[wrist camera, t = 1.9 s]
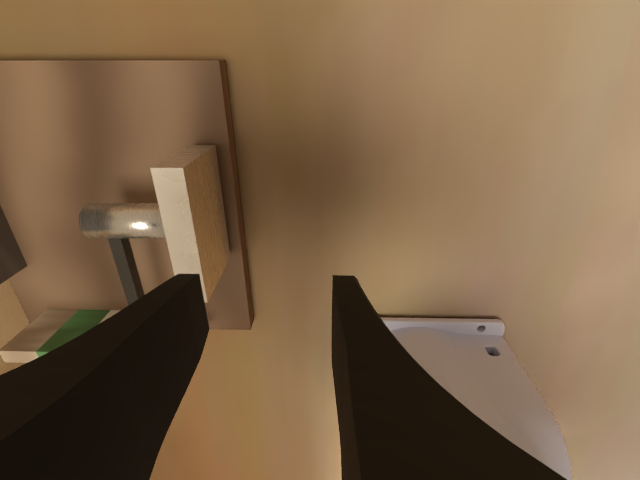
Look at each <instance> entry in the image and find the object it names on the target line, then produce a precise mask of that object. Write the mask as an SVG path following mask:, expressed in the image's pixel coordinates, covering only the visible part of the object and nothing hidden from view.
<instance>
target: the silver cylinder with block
mask: <svg viewBox="0 0 640 480" xmlns="http://www.w3.org/2000/svg"><path fill="white" fill-rule="evenodd" d="M150 170H151V174H152V179H153V183H154V187H155V192H156V196H157V201H158V203H87V204H86V205H84V206H83V208H82V209H81V211H80V214H79V225H80V229H81V231H82V233H83V234H84V235H85V236H86V237H88V238H108V242H109V245H110V248H111V251H112V254H113V258H114V261H115V264H116V267H117V271H118V274H119V277H120V280H121V283H122V287H123V290H124V293H125V296H126V299H127V303H128V305H130V304H132V303H133V302H135V301H136V300H138V299H139V298H141V297H142V296H144V295H145V294H144V291H143V287H142V284H141V280H140V276H139V273H138V269H137V266H136V262H135V259H134V255H133V251H132V248H131V244H130V241H129V239H166V241H167V245H168V249H169V254H170V258H171V263H172V267H173V272H174V276H175V275H177V274H199V275H200V281H201V286H202V291H203V297H204V302H206V303H207V302H208V300H209V298H210V297H211V295H212V293H213V291H214V289H215V287H216V285H217V283H218V281H219V279H220V277H221V275H222V273H223V271H224V269H225V267H226V265H227V263H228V261H229V259H230V250H229V243H228V235H227V228H226V220H225V213H224V206H223V198H222V191H221V183H220V176H219V169H218V161H217V154H216V146H215V145H189V146H187V147H185V148H184V149H182V150H180V151H178V152H177V153H175V154H173V155H171V156H170V157H168V158H166V159H164V160H163V161H161V162H159V163H157V164H156V165H154V166H152V167H151V168H150Z"/></svg>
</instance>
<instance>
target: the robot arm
mask: <svg viewBox="0 0 640 480" xmlns="http://www.w3.org/2000/svg"><path fill="white" fill-rule="evenodd" d="M479 326H482V327H480V328H478V327H479ZM504 330H505V325H504V323H503V322H502V321H501V320H499V319H454V318H382V317H380V316H379V315H378V313H377V312H376V311H375V309H374V308H373V306H372V305H371V303H370V301H369V300H368V298H367V297H366V295H365V293H364V291H363V290H362V288H361V286H360V284H359V282H358V280H357V278H356V277H355V276H339V275H333V289H332V368H333V377H334V386H335V395H336V405H337V414H338V423H339V432H340V444H341V466H342V480H572V473H571V464H570V460H569V455H568V451H567V448H566V445H565V441H564V438H563V436H562V433H561V431H560V428H559V426H558V424H557V422H556V420H555V418H554V416H553V414H552V412H551V411H550V409H549V407H548V406H547V404H546V403H545V401H544V400H543V398H542V397H541V395H540V393H539V392H538V390H537V389H536V387H535V386H534V384H533V383H532V381H531V379H530V378H529V376H528V375H527V373H526V372H525V370H524V369H523V367H522V365H521V364H520V362H519V361H518V359H517V358H516V356H515V355H514V353H513V351H512V350H511V348H510V347H509V345H508V344H507V342H506V341H505V339H504V337H503V334H504ZM208 331H209V324H208V318H207V313H206V308H205V302H204V297H203V291H202V286H201V281H200V275H199V274H177V275H175V276H173V277H172V278H170V279H168V280H167V281H165V282H164V283H162V284H161V285H159V286H157V287H156V288H154V289H153V290H151V291H150V292H148V293H147V294H145V295H144V296H142V297H141V298H139V299H138V300H136V301H135V302H133V303H132V304H130V305H128V306H127V307H125V308H124V309H122V310H121V311H119V312H118V313H116V314H114V315H113V316H111V317H109V318H108V319H106V320H104V321H103V322H101V323H99V324H98V325H96V326H94V327H93V328H91V329H90V330H88V331H86V332H85V333H83V334H81V335H80V336H78V337H76V338H74V339H72V340H71V341H69V342H67V343H65V344H63V345H61V346H60V347H58V348H56V349H54V350H52V351H50V352H48V353H46V354H44V355H42V356H40V357H38V358H36V359H34V360H32V361H30V362H28V363H26V364H24V365H22V366H20V367H18V368H16V369H13V370H11V371H9V372H7V373H4V374H2V375H0V480H149V478H150V476H151V473H152V470H153V467H154V464H155V461H156V458H157V456H158V453H159V450H160V448H161V445H162V443H163V440H164V438H165V435H166V433H167V431H168V429H169V426H170V424H171V422H172V420H173V418H174V416H175V413H176V411H177V409H178V407H179V405H180V402H181V400H182V398H183V396H184V394H185V392H186V389H187V387H188V385H189V383H190V381H191V378H192V376H193V374H194V372H195V370H196V367H197V365H198V363H199V360H200V358H201V355H202V352H203V348H204V345H205V342H206V338H207V335H208Z"/></svg>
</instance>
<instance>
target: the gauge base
mask: <svg viewBox="0 0 640 480" xmlns="http://www.w3.org/2000/svg"><path fill="white" fill-rule="evenodd" d="M189 145H215V146H216V154H217V161H218V169H219V176H220V183H221V191H222V198H223V206H224V213H225V220H226V228H227V235H228V243H229V250H230V259H229V261H228V263H227V265H226V267H225V269H224V271H223V273H222V275H221V277H220V279H219V281H218V283H217V285H216V287H215V289H214V291H213V293H212V295H211V297H210V298H209V300H208V302H207V303H206V302H205V308H206V313H207V318H208V324H209V329H236V330H251V327H252V324H253V320H254V317H253V307H252V298H251V289H250V280H249V271H248V262H247V253H246V244H245V235H244V226H243V217H242V208H241V199H240V190H239V181H238V171H237V162H236V153H235V144H234V135H233V126H232V117H231V108H230V99H229V90H228V81H227V72H226V63H225V61H222V60H34V61H0V284H1V283H3V282H4V281H6V280H7V279H9V281H10V283H11V285H12V287H13V289H14V292H15V294H16V296H17V298H18V300H19V302H20V304H21V306H22V308H23V310H24V312H25V314H26V316H27V318H28V320H29V322H30V324H29V325H28V326H27V327H26V328H24V329H23V330H22V331H21V332H20V333H19V334H17V335H16V336H15V337H14V338H13V339H12V340H11V341H9V342H8V343H7V344H6V345H5V346H4V347H2V348H1V349H0V355H1V357H2V358H3V360H4V362H24V363H28V362H30V361H32V360H34V359H36V358H38V357H40V356H42V355H44V354H46V353H48V352H50V351H52V350H54V349H56V348H58V347H60V346H61V345H63V344H65V343H67V342H69V341H71V340H72V339H74V338H76V337H78V336H80V335H81V334H83V333H85V332H86V331H88V330H90V329H91V328H93V327H94V326H96V325H98V324H99V323H101V322H103V321H104V320H106V319H108V318H109V317H111V316H113V315H114V314H116V313H118V312H119V311H121V310H122V309H124V308H125V307H127V306H128V303H127V299H126V296H125V293H124V290H123V287H122V283H121V280H120V277H119V274H118V271H117V267H116V264H115V261H114V258H113V254H112V251H111V248H110V245H109V242H108V238H88V237H86V236H85V235H84V234H83V233H82V231H81V229H80V225H79V214H80V211H81V209H82V208H83V206H84V205H86V204H87V203H158V201H157V196H156V192H155V187H154V183H153V179H152V174H151V170H150V168H151V167H152V166H154V165H156V164H157V163H159V162H161V161H163V160H164V159H166V158H168V157H170V156H171V155H173V154H175V153H177V152H178V151H180V150H182V149H184V148H185V147H187V146H189ZM129 241H130V244H131V248H132V251H133V255H134V259H135V262H136V266H137V269H138V273H139V276H140V280H141V284H142V287H143V291H144V294H147V293H148V292H150V291H151V290H153V289H154V288H156V287H157V286H159V285H161V284H162V283H164V282H165V281H167V280H168V279H170V278H172V277H173V276H174V272H173V267H172V263H171V258H170V254H169V249H168V245H167V241H166V239H129Z"/></svg>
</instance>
